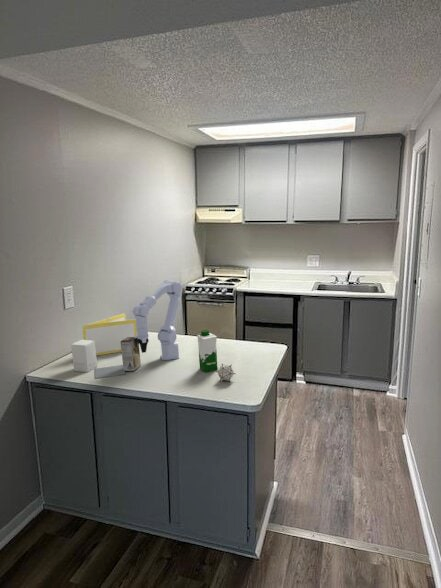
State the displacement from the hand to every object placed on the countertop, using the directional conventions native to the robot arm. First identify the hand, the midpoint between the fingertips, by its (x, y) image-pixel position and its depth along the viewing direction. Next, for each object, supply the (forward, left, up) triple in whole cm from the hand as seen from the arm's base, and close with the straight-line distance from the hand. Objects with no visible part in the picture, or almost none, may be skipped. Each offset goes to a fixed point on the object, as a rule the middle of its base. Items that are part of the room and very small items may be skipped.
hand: (143, 352), depth 222 cm
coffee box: (+7, 0, -8) cm, 11 cm away
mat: (+18, 0, -8) cm, 20 cm away
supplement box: (+31, -10, -9) cm, 34 cm away
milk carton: (-31, +16, -9) cm, 36 cm away
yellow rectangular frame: (+13, -36, -9) cm, 40 cm away
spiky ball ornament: (-35, +34, -9) cm, 50 cm away
